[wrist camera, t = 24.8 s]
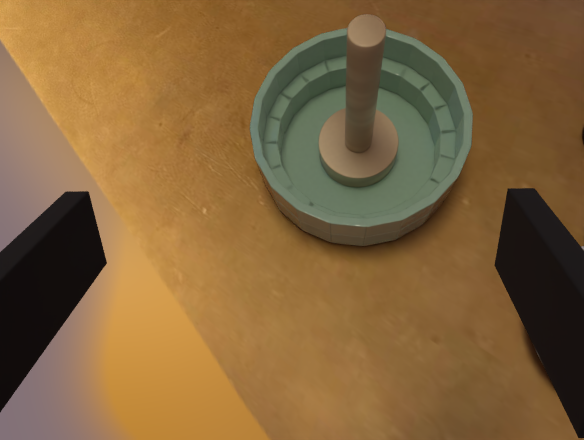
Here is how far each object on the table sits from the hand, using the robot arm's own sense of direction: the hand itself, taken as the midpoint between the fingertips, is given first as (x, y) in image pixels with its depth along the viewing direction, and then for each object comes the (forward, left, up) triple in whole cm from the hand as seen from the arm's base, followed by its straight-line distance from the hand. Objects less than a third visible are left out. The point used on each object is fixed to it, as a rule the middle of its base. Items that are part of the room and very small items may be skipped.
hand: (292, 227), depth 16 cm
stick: (+9, +9, -22) cm, 25 cm away
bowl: (+9, +9, -23) cm, 26 cm away
